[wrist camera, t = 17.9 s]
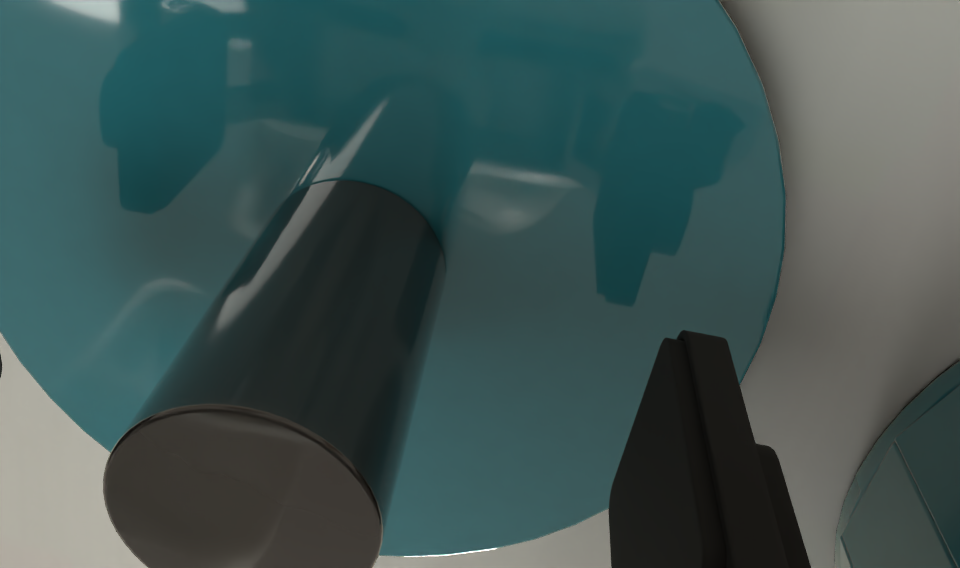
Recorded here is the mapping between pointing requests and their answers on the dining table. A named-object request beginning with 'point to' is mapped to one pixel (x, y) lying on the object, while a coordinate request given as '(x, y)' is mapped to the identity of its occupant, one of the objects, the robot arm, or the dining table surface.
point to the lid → (373, 255)
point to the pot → (908, 488)
